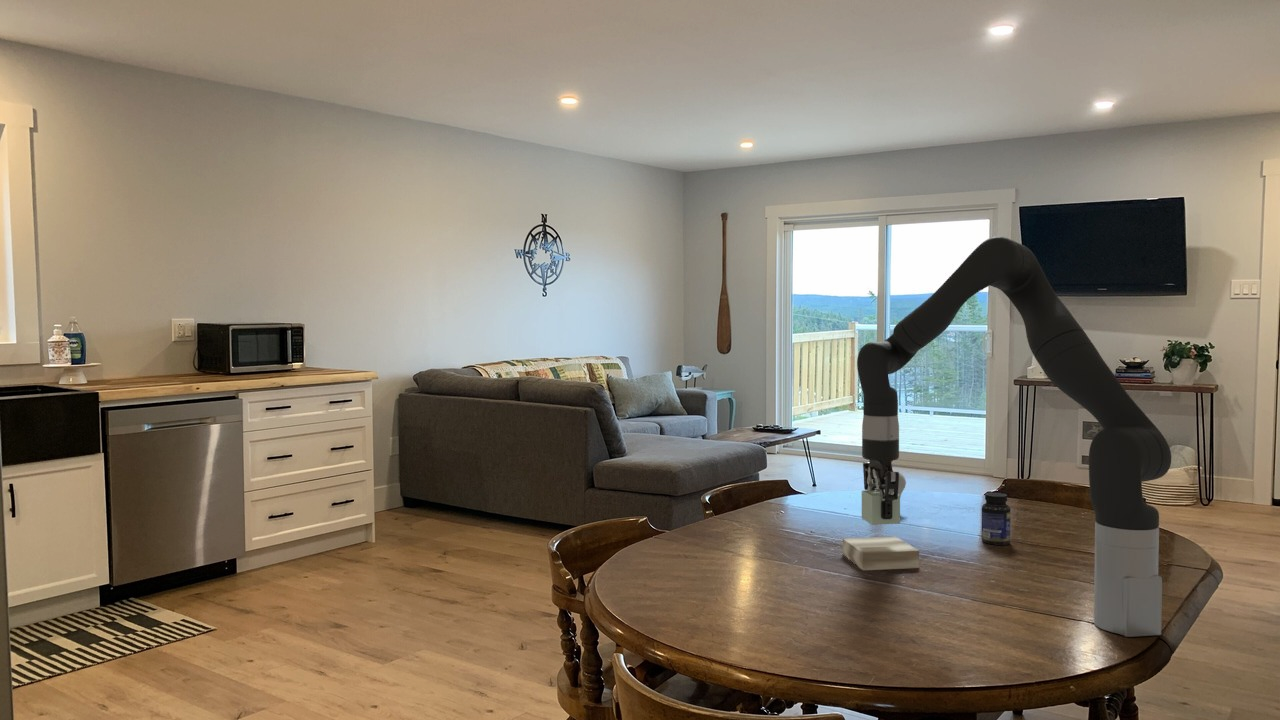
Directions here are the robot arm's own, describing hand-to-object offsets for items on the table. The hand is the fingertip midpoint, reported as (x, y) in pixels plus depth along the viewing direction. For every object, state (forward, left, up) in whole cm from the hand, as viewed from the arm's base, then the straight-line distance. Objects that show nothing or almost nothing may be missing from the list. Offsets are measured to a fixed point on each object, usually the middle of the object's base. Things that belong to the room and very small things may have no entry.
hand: (880, 515), depth 189 cm
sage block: (0, 0, -1) cm, 1 cm away
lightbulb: (+45, -22, -10) cm, 51 cm away
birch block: (0, 0, -10) cm, 10 cm away
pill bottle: (+11, -32, -10) cm, 35 cm away
